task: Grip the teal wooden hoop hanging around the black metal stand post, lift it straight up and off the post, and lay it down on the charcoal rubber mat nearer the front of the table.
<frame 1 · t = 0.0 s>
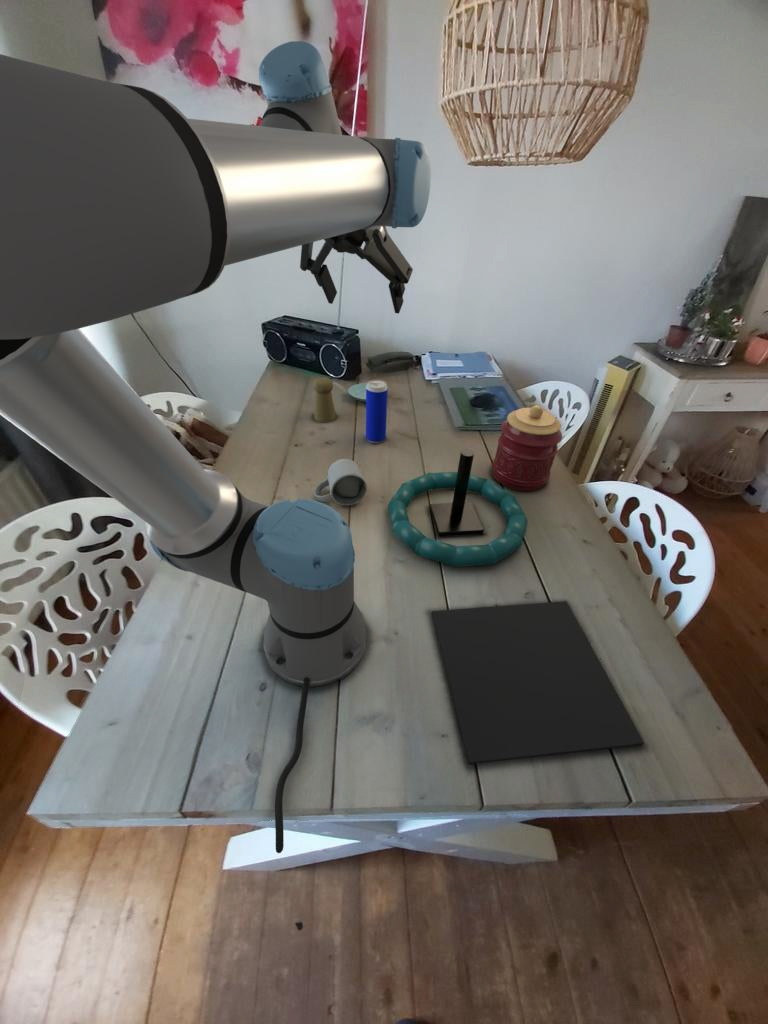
hand: (365, 302, 82), 36 cm above the table, tool tilted 35°, fingers open, 13 cm apart
saucer: (367, 398, 134), on the table
hoop: (456, 514, 89), point 2 cm above the table
ceramic mug: (340, 497, 95), on the table
kitchen canister: (518, 476, 103), on the table
beverage can: (375, 439, 115), on the table
stand: (455, 520, 90), on the table
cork: (325, 417, 123), on the table
mat: (524, 671, 64), on the table
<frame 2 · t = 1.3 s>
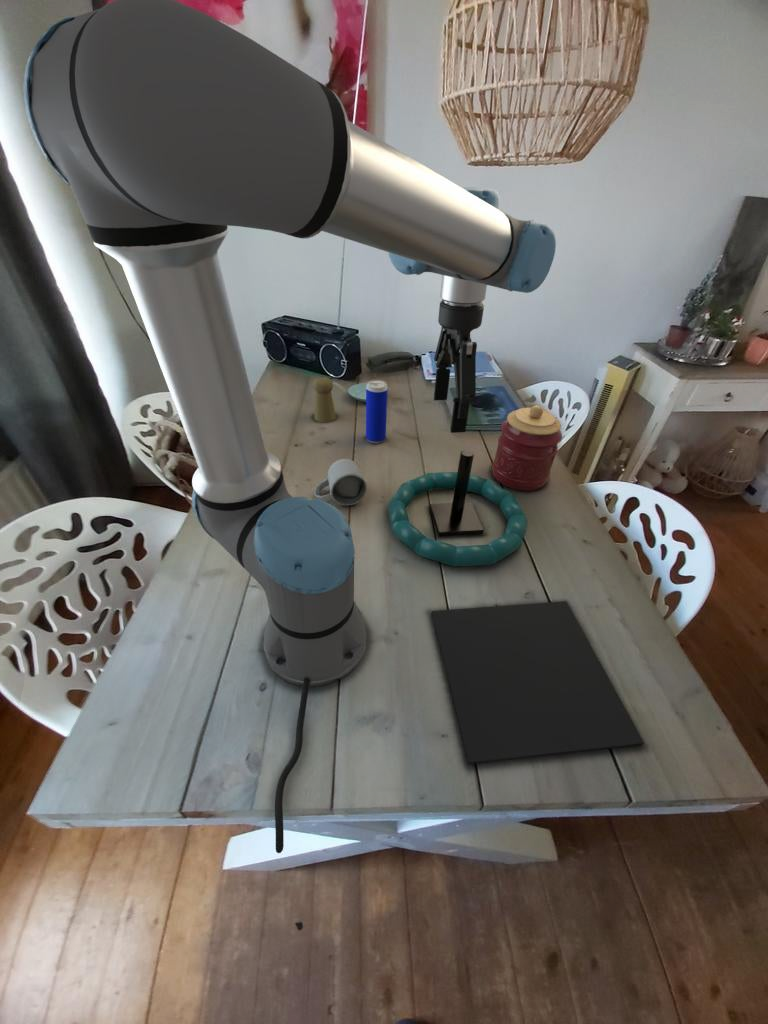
hand: (448, 414, 88), 17 cm above the table, tool pointing down, fingers open, 13 cm apart
nothing on the table moved.
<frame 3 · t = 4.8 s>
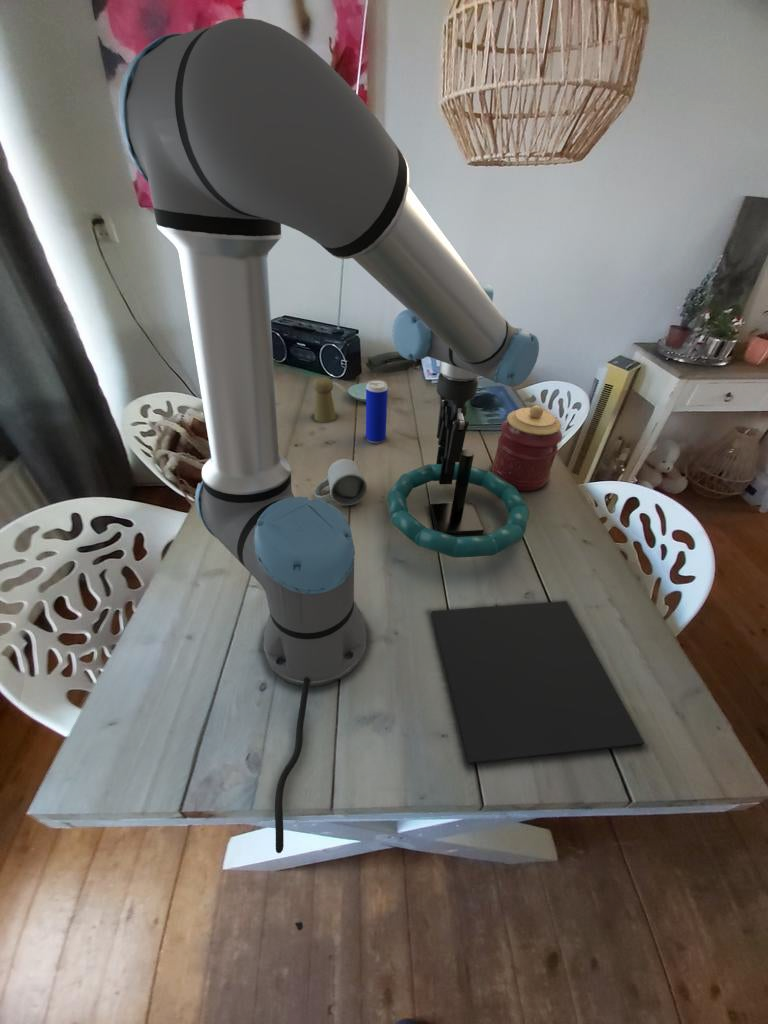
hand: (443, 477, 97), 3 cm above the table, tool pointing down, fingers closed on hoop, 3 cm apart
hoop: (457, 505, 87), point 4 cm above the table, touching gripper
everything else where it was.
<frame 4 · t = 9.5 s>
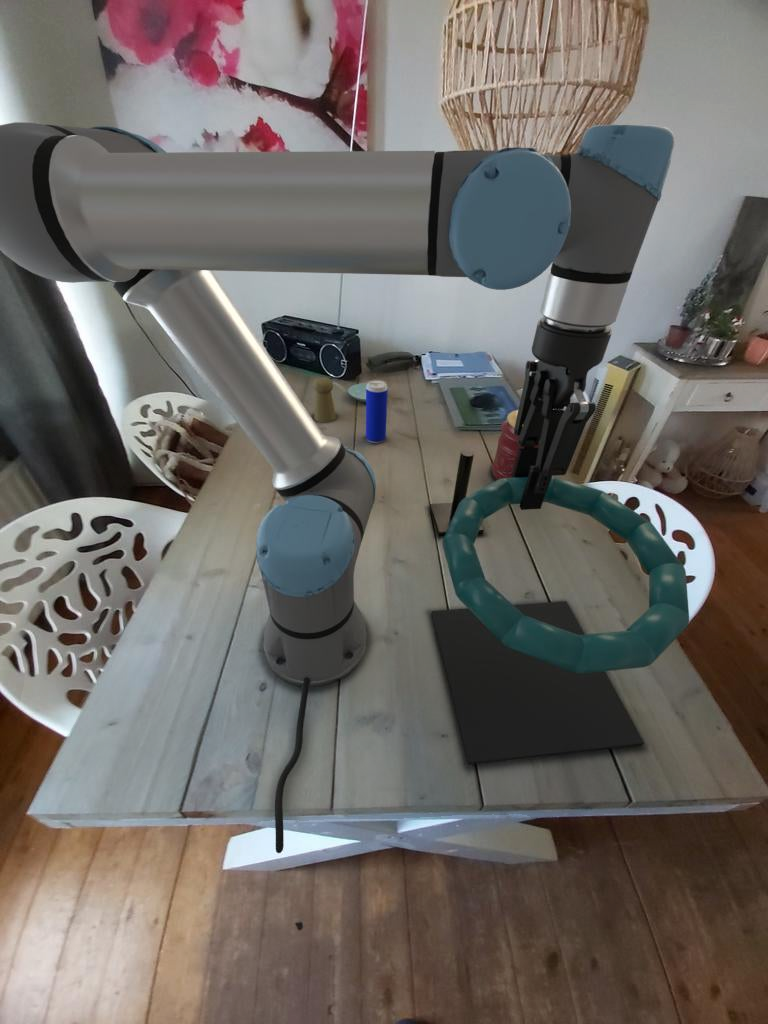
hand: (524, 497, 61), 21 cm above the table, tool pointing down, fingers closed on hoop, 3 cm apart
hoop: (560, 558, 52), point 21 cm above the table, tilted 7°, touching gripper
everything else where it was.
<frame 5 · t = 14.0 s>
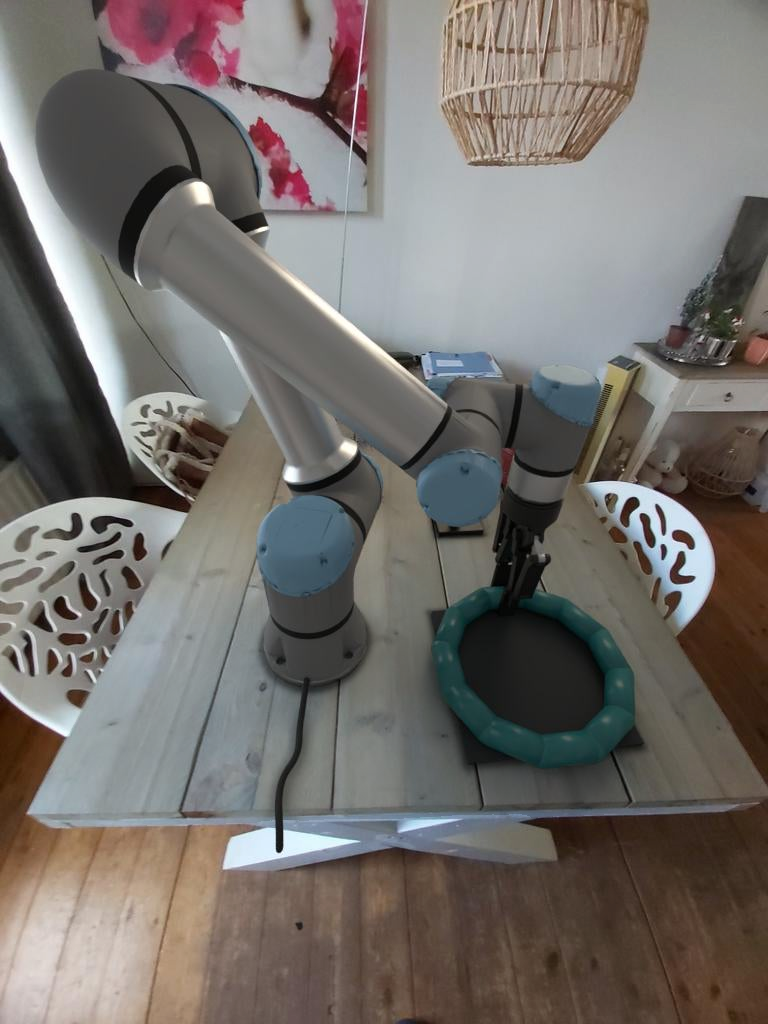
hand: (501, 603, 72), 1 cm above the table, tool pointing down, fingers closed on hoop, 4 cm apart
hoop: (530, 662, 62), point 2 cm above the table, touching gripper, mat
everything else where it was.
when the fingers open (1 cm above the table, at t = 14.0 s): hoop stays where it is, resting on mat.
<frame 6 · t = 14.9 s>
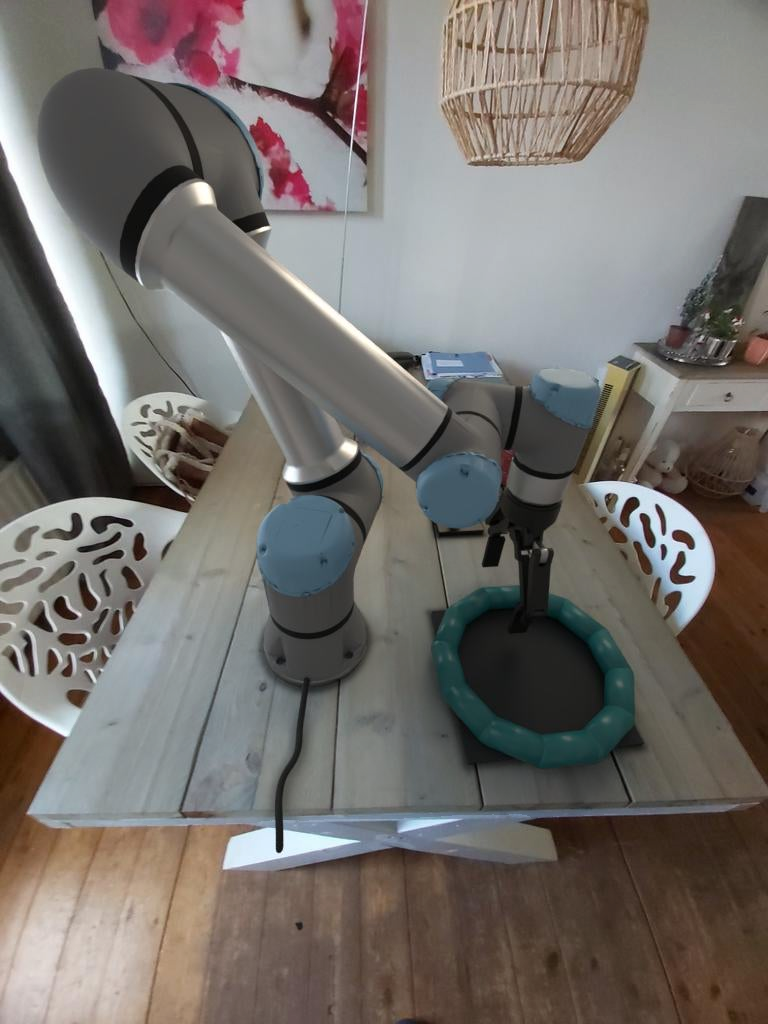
hand: (502, 596, 71), 3 cm above the table, tool pointing down, fingers open, 13 cm apart
hoop: (530, 662, 62), point 2 cm above the table, touching mat
everything else where it was.
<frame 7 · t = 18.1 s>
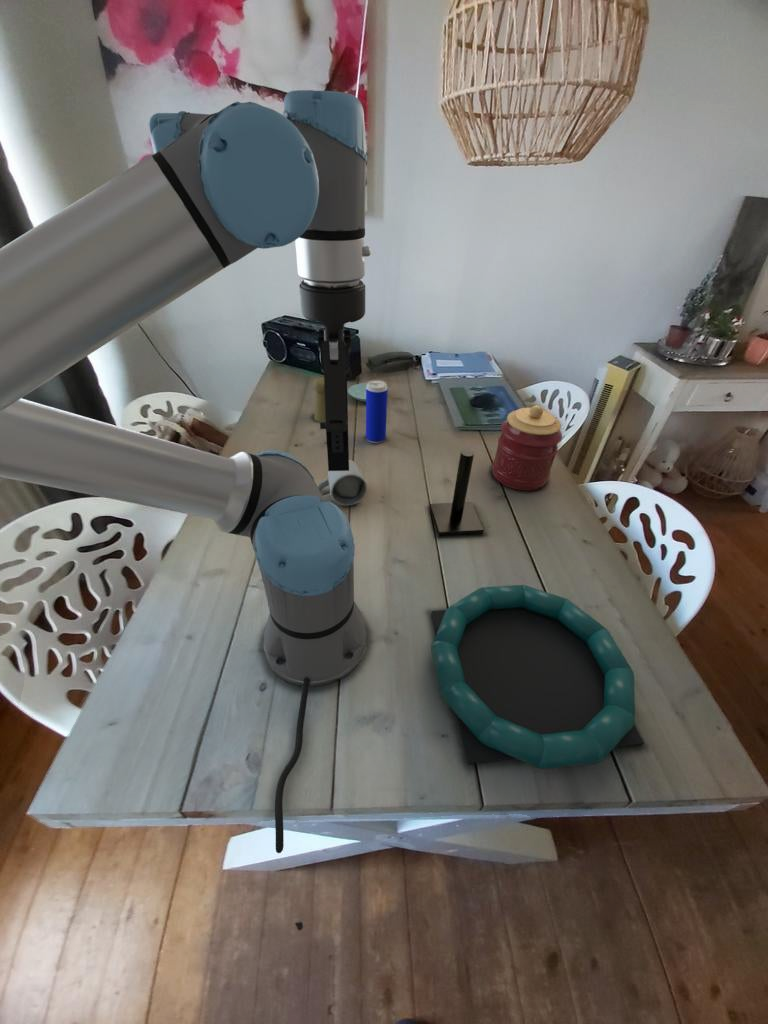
hand: (339, 443, 63), 25 cm above the table, tool pointing down, fingers open, 13 cm apart
nothing on the table moved.
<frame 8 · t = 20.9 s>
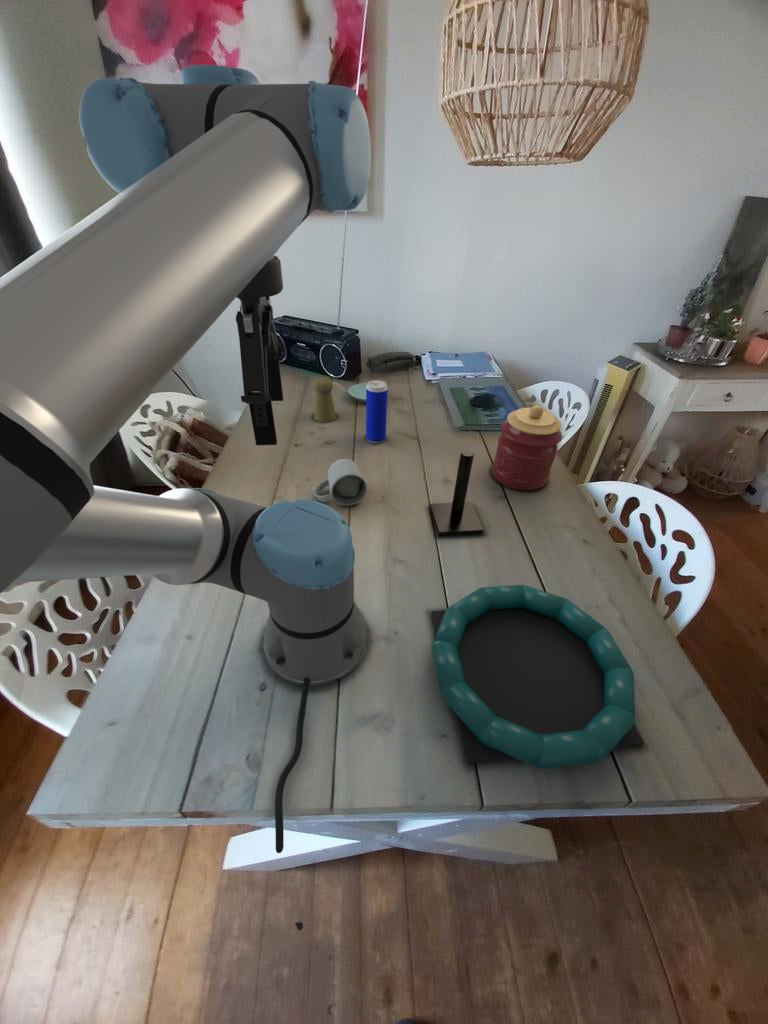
hand: (271, 420, 65), 27 cm above the table, tool pointing down, fingers open, 13 cm apart
nothing on the table moved.
at the end: hoop inside the target area on the mat (0.2 cm from its centre), point 2.4 cm above the mat's base; hoop tilted 0°; the gripper is holding nothing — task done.
